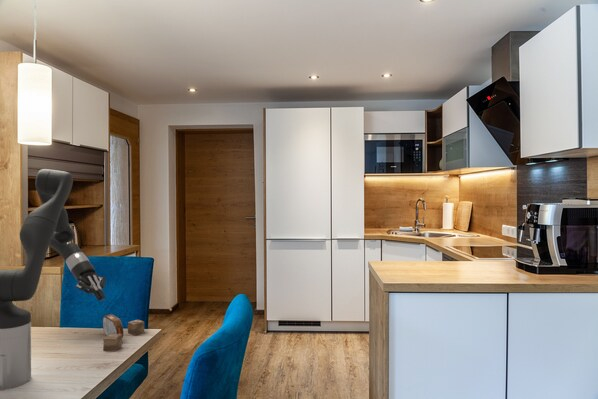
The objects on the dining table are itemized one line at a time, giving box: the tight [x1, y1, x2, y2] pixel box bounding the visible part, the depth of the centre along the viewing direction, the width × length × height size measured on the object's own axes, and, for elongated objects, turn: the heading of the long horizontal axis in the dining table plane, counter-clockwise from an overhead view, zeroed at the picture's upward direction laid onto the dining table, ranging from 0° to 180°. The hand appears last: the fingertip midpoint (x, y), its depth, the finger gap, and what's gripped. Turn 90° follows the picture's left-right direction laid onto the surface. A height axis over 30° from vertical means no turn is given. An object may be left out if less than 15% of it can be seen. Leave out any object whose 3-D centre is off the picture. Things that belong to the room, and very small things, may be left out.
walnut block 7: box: [127, 319, 145, 336], centre depth 162 cm, size 4×4×5 cm
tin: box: [102, 313, 124, 339], centre depth 156 cm, size 15×3×8 cm, turn 45°
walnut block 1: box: [102, 334, 123, 352], centre depth 145 cm, size 4×4×5 cm
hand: (102, 299), depth 157 cm, fingers closed
